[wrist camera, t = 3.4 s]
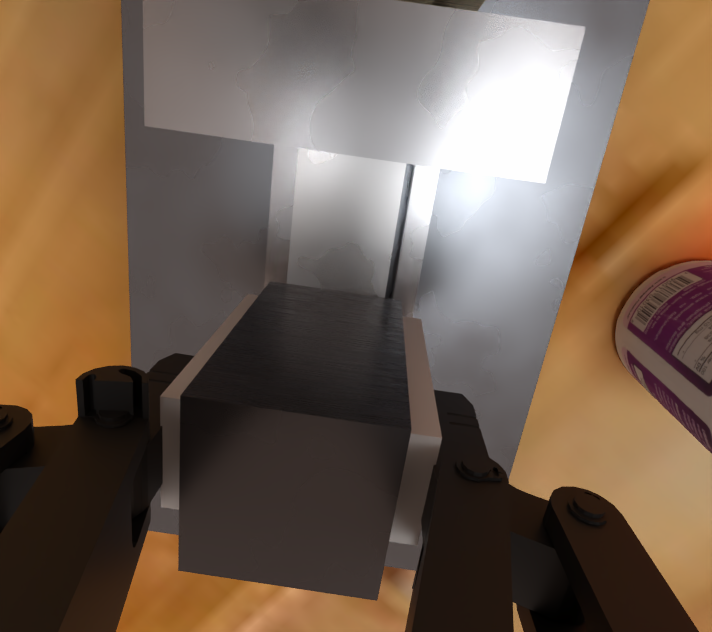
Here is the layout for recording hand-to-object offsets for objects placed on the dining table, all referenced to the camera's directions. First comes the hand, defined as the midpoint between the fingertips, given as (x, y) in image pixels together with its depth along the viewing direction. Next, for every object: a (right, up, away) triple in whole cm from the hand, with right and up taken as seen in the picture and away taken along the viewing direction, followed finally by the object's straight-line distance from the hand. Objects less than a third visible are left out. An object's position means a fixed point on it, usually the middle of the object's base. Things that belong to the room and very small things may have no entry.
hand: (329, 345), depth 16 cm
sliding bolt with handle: (+1, +6, 0) cm, 7 cm away
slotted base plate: (0, +3, +3) cm, 5 cm away
